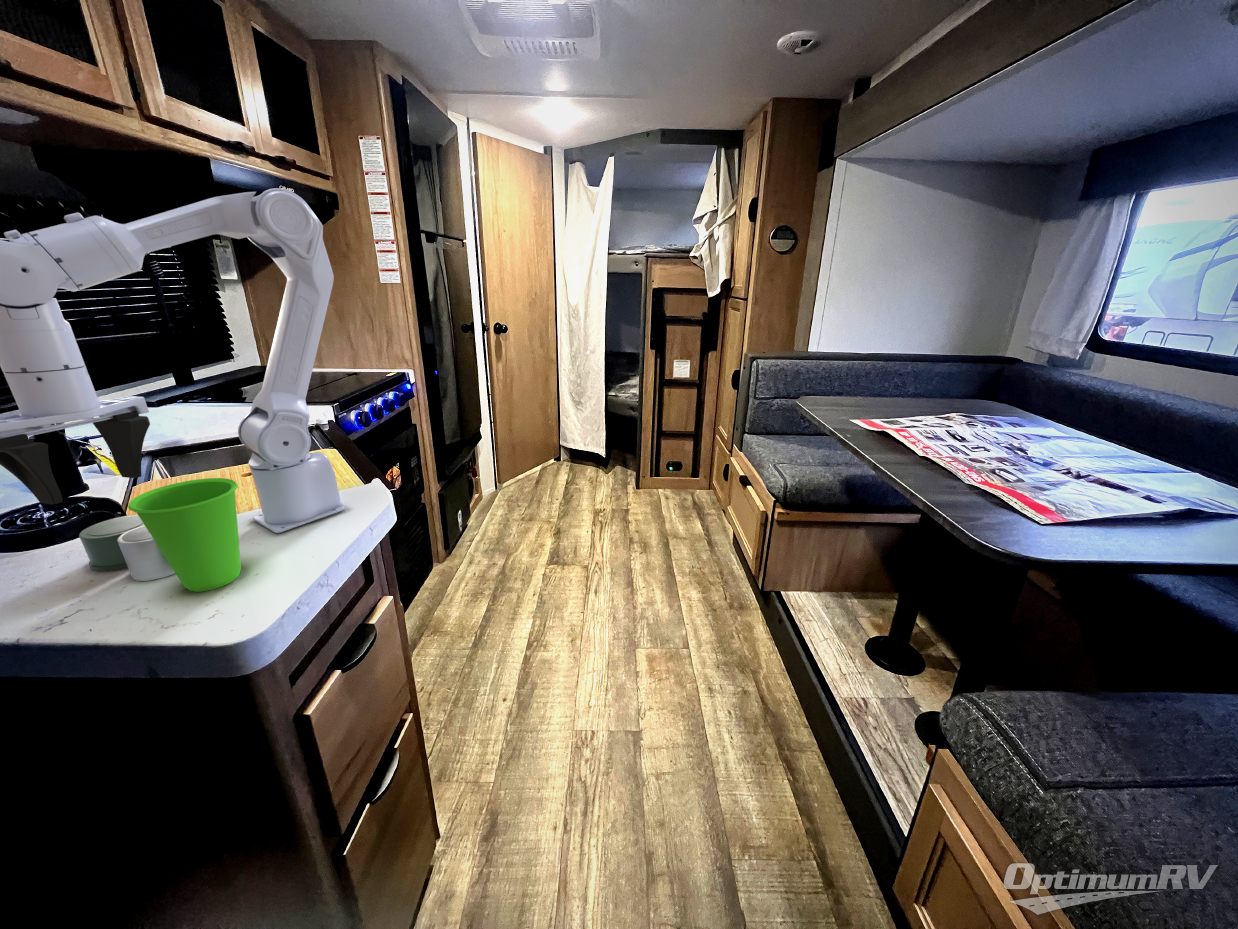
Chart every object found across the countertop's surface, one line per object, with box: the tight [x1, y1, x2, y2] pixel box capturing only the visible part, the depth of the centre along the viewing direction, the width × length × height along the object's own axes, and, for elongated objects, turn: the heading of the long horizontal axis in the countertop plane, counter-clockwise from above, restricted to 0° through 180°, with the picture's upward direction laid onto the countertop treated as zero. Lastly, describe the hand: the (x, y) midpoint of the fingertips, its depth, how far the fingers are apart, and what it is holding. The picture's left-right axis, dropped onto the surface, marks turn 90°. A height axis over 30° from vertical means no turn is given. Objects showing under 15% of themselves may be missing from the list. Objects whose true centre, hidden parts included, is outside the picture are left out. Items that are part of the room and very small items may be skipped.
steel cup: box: [117, 526, 176, 582], centre depth 57 cm, size 5×5×5 cm
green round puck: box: [78, 514, 145, 573], centre depth 59 cm, size 7×7×4 cm
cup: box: [127, 477, 242, 593], centre depth 54 cm, size 9×9×11 cm
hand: (94, 488), depth 54 cm, fingers open, 7 cm apart
